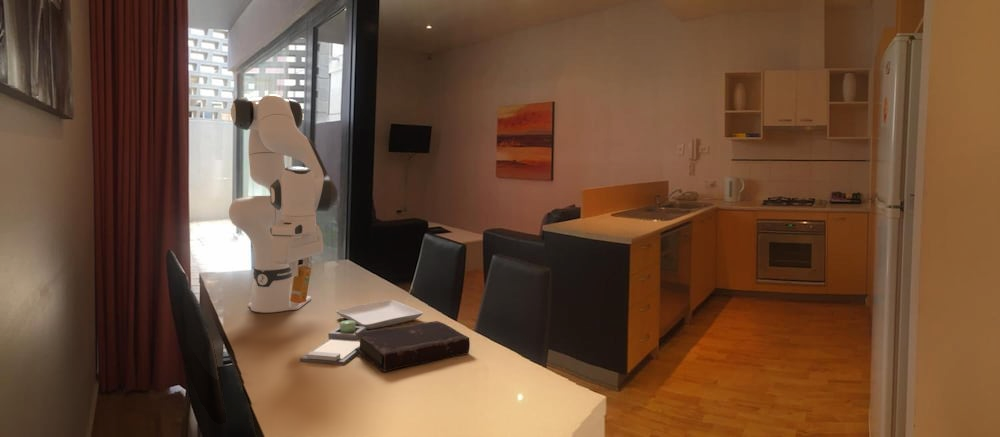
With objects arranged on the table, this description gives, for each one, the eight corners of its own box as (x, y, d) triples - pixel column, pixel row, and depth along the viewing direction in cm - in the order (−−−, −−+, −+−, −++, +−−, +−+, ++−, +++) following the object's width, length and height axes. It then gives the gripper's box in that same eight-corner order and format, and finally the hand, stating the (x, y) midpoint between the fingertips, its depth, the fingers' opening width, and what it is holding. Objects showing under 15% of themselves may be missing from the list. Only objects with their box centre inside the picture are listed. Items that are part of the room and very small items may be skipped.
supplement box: (300, 304, 151) (304, 269, 150) (289, 301, 152) (293, 266, 151) (307, 301, 155) (311, 267, 154) (296, 299, 155) (300, 264, 154)
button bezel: (341, 331, 164) (341, 325, 164) (366, 333, 163) (366, 326, 163) (328, 339, 156) (328, 333, 156) (354, 341, 155) (354, 335, 155)
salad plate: (364, 335, 162) (364, 323, 162) (334, 319, 178) (334, 308, 178) (424, 322, 176) (424, 311, 176) (391, 308, 192) (391, 298, 192)
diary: (470, 355, 146) (470, 337, 146) (384, 374, 131) (384, 354, 131) (434, 334, 161) (435, 318, 160) (353, 349, 146) (353, 331, 145)
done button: (344, 329, 162) (344, 319, 162) (358, 330, 161) (358, 320, 161) (337, 334, 158) (337, 324, 157) (351, 335, 157) (351, 325, 157)
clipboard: (330, 341, 155) (329, 334, 155) (369, 344, 153) (369, 337, 153) (299, 361, 139) (299, 353, 139) (343, 365, 137) (343, 357, 137)
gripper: (308, 221, 162) (309, 267, 163) (267, 229, 142) (268, 281, 143) (328, 222, 161) (329, 268, 162) (289, 229, 141) (290, 282, 142)
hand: (300, 274), depth 153 cm, fingers closed on supplement box, 3 cm apart
